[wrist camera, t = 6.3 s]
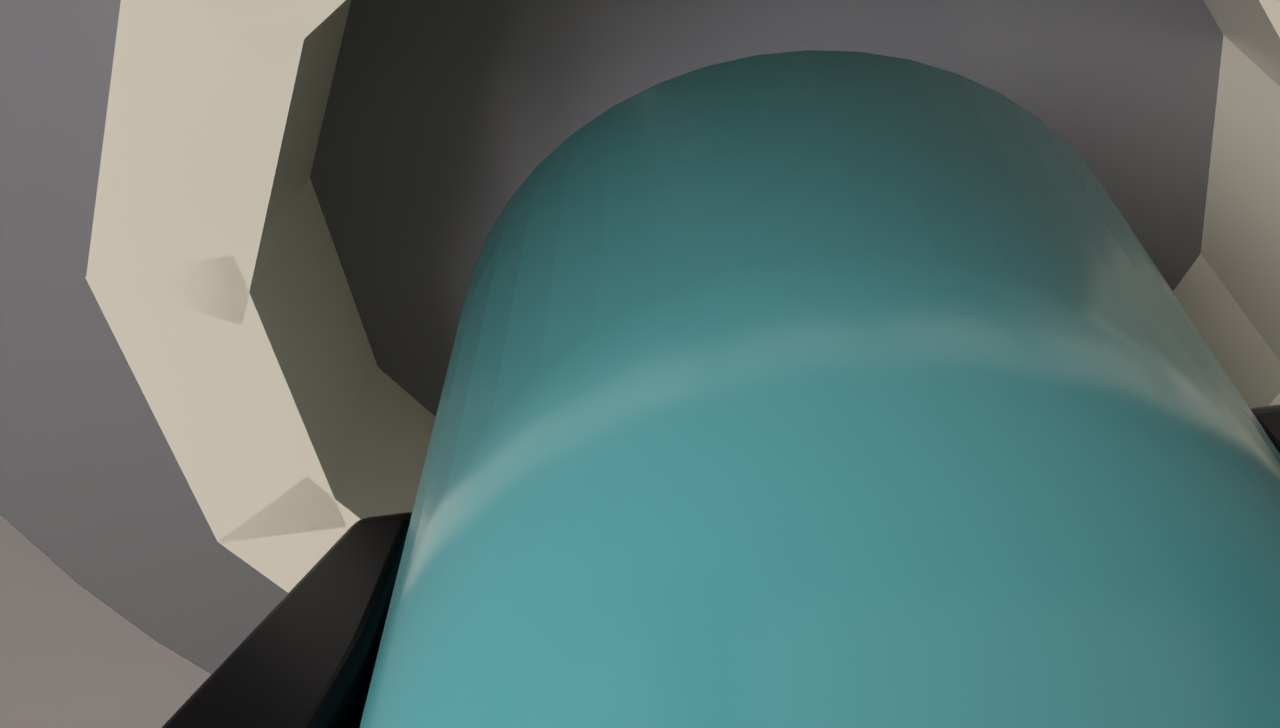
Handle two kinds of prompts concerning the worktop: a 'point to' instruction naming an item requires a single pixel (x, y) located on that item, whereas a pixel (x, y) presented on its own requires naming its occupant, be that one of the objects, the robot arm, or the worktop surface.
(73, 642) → the worktop surface
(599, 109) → the round tray
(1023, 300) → the teal rounded cylinder
